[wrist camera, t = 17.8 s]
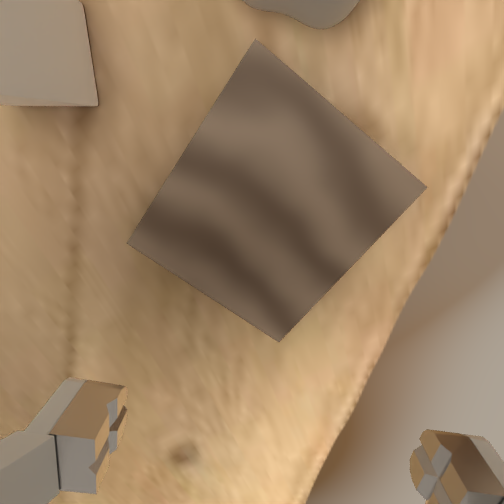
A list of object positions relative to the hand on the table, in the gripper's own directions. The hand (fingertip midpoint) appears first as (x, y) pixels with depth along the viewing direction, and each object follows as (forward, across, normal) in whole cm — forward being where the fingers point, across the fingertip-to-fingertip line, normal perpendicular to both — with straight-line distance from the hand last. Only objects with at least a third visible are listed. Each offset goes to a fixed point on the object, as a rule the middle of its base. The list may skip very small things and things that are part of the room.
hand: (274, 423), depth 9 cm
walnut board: (+22, 0, 0) cm, 23 cm away
